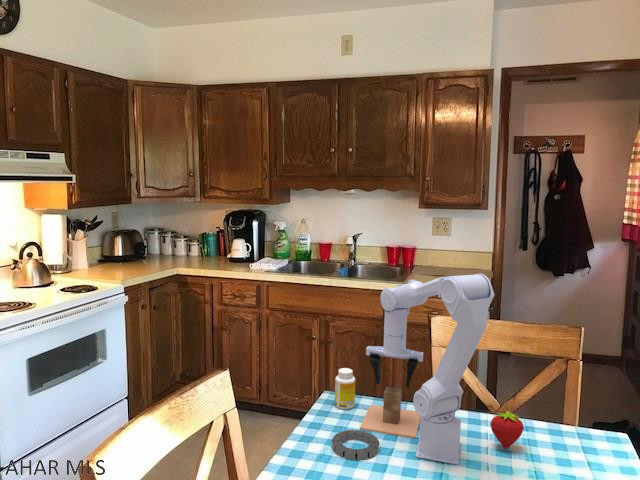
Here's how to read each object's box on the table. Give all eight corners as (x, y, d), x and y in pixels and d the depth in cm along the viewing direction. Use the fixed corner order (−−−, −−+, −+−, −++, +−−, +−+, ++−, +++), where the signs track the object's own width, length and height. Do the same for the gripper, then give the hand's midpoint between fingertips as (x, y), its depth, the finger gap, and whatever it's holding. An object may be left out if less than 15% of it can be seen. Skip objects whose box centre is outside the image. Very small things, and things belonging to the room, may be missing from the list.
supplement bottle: (358, 406, 143) (359, 371, 141) (343, 411, 139) (344, 375, 138) (345, 399, 147) (346, 365, 146) (330, 404, 143) (331, 369, 142)
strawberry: (486, 440, 126) (489, 401, 124) (518, 442, 125) (520, 403, 124) (492, 452, 120) (494, 412, 119) (525, 455, 119) (528, 414, 118)
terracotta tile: (421, 414, 139) (421, 412, 139) (415, 438, 126) (415, 436, 125) (370, 406, 143) (370, 404, 143) (359, 429, 130) (359, 427, 130)
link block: (400, 417, 135) (401, 388, 134) (398, 424, 131) (399, 394, 130) (385, 415, 136) (386, 386, 135) (382, 422, 133) (383, 392, 132)
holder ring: (382, 440, 124) (382, 434, 124) (373, 463, 114) (374, 457, 114) (338, 432, 128) (339, 427, 127) (326, 455, 117) (326, 448, 117)
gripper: (425, 332, 133) (423, 382, 135) (370, 326, 137) (368, 375, 139) (422, 340, 126) (420, 392, 128) (364, 333, 131) (363, 384, 132)
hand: (393, 384), depth 133 cm, fingers open, 7 cm apart
